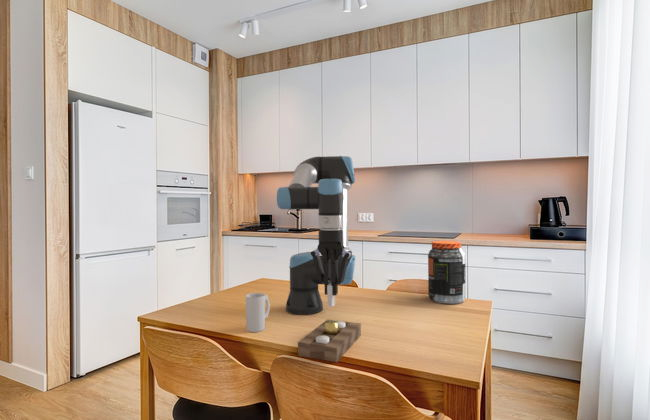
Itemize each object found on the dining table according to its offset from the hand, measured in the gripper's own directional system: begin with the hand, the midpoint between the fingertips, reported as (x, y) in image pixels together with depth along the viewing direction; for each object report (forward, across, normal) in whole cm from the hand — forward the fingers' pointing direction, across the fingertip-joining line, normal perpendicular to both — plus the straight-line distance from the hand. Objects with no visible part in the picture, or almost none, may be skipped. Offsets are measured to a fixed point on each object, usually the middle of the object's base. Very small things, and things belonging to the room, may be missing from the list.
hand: (331, 305), depth 117 cm
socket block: (+12, 0, 0) cm, 12 cm away
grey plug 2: (+12, 0, +7) cm, 14 cm away
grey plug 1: (+12, 0, -7) cm, 14 cm away
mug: (+13, -30, +5) cm, 33 cm away
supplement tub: (+12, +28, +67) cm, 74 cm away
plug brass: (+9, 0, 0) cm, 9 cm away
